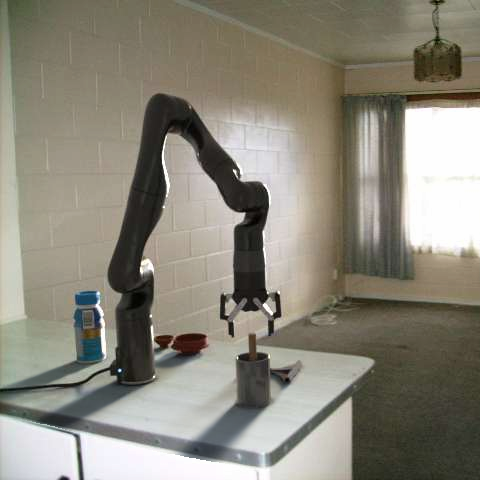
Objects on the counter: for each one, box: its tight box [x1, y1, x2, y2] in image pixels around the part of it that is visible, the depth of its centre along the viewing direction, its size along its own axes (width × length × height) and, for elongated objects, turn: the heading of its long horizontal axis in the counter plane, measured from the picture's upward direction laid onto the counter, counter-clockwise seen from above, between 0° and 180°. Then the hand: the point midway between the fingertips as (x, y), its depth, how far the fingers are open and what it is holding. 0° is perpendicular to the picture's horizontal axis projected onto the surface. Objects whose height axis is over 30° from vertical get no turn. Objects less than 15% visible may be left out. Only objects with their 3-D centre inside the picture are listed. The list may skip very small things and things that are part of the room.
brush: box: [247, 332, 258, 362], centre depth 150 cm, size 4×4×16 cm
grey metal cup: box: [234, 351, 272, 409], centre depth 150 cm, size 8×8×11 cm
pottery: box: [153, 332, 211, 356], centre depth 194 cm, size 12×20×4 cm, turn 59°
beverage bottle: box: [73, 290, 107, 364], centre depth 185 cm, size 8×8×20 cm
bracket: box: [270, 360, 303, 384], centre depth 171 cm, size 14×15×3 cm
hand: (251, 336), depth 149 cm, fingers open, 8 cm apart
